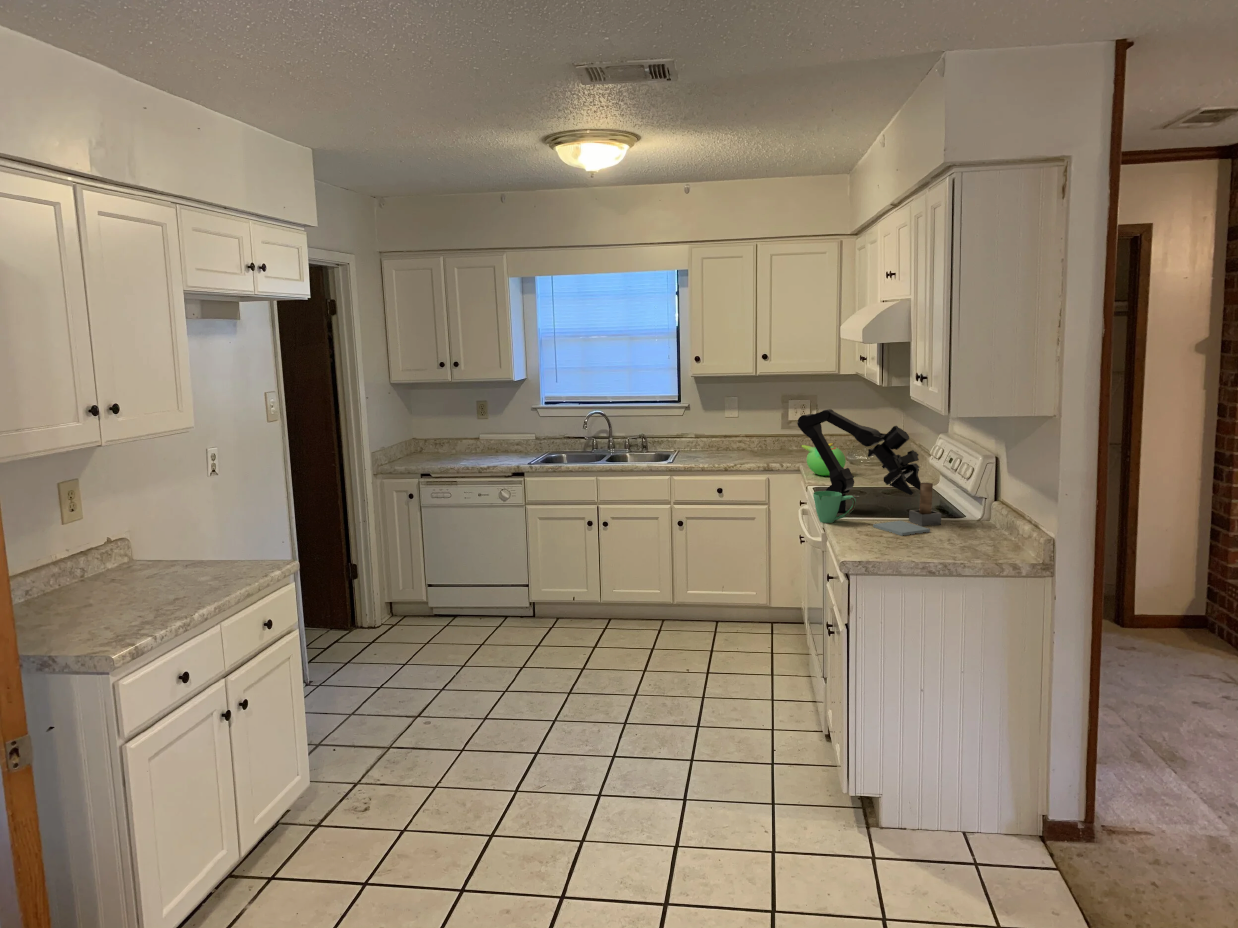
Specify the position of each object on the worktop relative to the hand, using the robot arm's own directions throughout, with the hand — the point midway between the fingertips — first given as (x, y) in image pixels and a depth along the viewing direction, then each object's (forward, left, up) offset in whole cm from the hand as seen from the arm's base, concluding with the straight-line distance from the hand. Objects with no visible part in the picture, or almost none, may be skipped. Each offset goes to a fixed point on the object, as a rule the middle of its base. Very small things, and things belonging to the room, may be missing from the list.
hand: (917, 492), depth 307 cm
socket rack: (+3, +2, -10) cm, 11 cm away
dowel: (+3, +2, -11) cm, 11 cm away
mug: (-8, -27, -11) cm, 30 cm away
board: (+9, -11, -11) cm, 18 cm away
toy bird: (-94, +14, -11) cm, 95 cm away
